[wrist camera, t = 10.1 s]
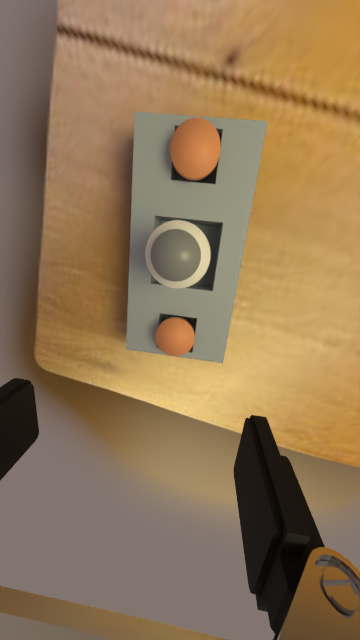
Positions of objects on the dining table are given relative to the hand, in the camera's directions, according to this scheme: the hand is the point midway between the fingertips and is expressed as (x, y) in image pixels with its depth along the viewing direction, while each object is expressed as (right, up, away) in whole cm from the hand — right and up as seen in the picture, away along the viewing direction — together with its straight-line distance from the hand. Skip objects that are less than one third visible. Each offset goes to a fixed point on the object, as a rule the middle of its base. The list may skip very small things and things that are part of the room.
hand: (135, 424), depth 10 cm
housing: (+3, +13, +19) cm, 23 cm away
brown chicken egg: (+4, +21, +15) cm, 26 cm away
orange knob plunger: (+2, +4, +20) cm, 20 cm away
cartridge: (+3, +13, +18) cm, 22 cm away
